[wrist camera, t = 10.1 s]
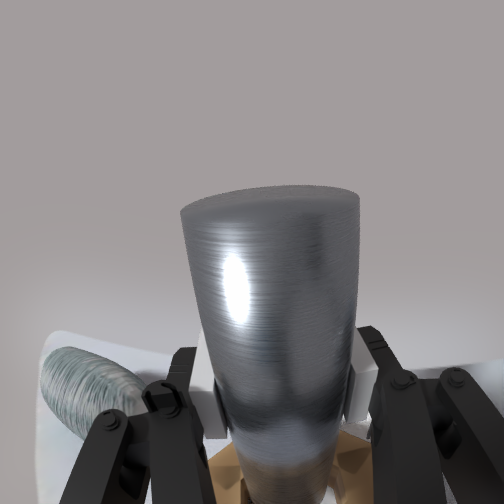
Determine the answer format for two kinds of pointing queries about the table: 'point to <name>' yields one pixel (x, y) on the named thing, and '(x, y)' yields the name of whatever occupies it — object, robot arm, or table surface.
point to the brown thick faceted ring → (341, 479)
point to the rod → (278, 326)
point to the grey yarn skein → (88, 388)
